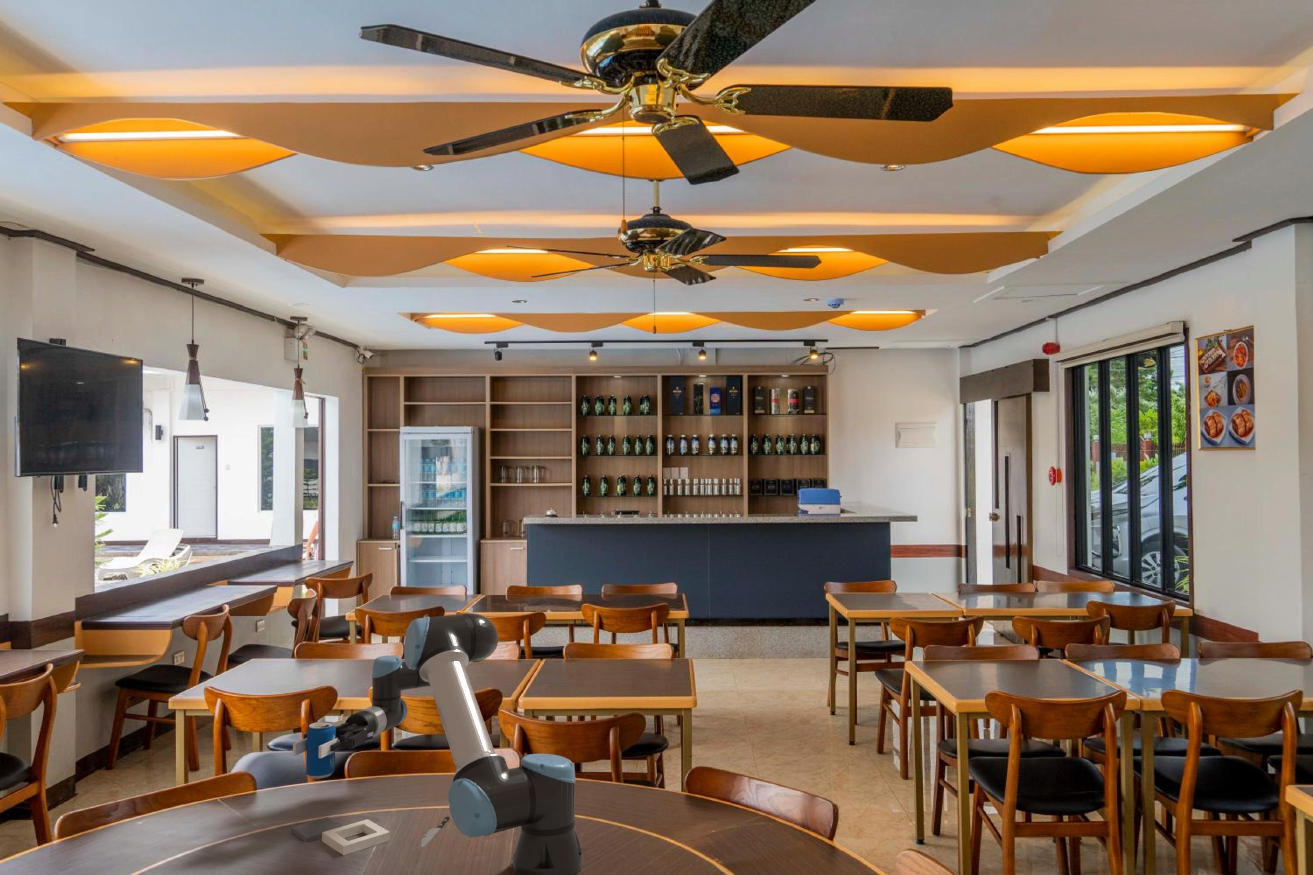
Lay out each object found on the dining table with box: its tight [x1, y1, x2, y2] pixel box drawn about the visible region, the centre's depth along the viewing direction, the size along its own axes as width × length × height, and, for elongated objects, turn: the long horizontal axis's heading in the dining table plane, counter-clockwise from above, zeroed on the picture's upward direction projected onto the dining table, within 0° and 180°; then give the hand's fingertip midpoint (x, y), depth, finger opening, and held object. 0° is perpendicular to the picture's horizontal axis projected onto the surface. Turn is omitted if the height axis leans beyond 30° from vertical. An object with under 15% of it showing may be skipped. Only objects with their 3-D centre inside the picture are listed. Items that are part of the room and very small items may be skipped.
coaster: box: [290, 817, 343, 843], centre depth 204 cm, size 9×9×1 cm
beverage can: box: [305, 720, 336, 779], centre depth 205 cm, size 6×6×12 cm
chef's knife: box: [420, 816, 450, 848], centre depth 203 cm, size 19×1×3 cm
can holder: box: [321, 818, 391, 856], centre depth 198 cm, size 11×11×2 cm
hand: (307, 750), depth 201 cm, fingers closed on beverage can, 6 cm apart
